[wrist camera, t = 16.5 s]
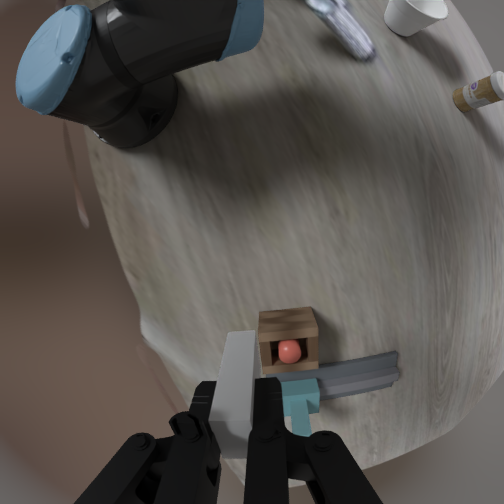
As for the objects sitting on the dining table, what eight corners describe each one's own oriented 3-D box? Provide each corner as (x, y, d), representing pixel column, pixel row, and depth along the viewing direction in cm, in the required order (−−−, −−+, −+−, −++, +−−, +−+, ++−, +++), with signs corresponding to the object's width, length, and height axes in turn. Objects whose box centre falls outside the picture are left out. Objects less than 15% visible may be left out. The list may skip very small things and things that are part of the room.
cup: (428, 34, 30) (456, 10, 19) (406, 53, 32) (435, 27, 21) (389, 0, 29) (410, -30, 18) (363, 16, 31) (383, -18, 20)
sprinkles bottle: (450, 86, 32) (494, 65, 19) (467, 95, 32) (512, 78, 19) (452, 107, 33) (499, 90, 20) (469, 116, 33) (516, 103, 20)
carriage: (277, 402, 44) (278, 451, 33) (275, 382, 43) (277, 432, 32) (315, 397, 44) (325, 446, 32) (316, 377, 43) (327, 426, 31)
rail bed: (269, 402, 46) (269, 412, 43) (266, 370, 45) (265, 380, 42) (390, 383, 45) (395, 392, 42) (395, 350, 43) (402, 359, 40)
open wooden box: (263, 349, 44) (263, 374, 37) (259, 311, 42) (258, 333, 36) (311, 344, 43) (318, 368, 36) (310, 306, 42) (318, 327, 35)
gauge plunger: (278, 348, 40) (279, 364, 36) (277, 331, 40) (278, 346, 35) (298, 346, 40) (301, 362, 36) (297, 329, 39) (300, 344, 35)
